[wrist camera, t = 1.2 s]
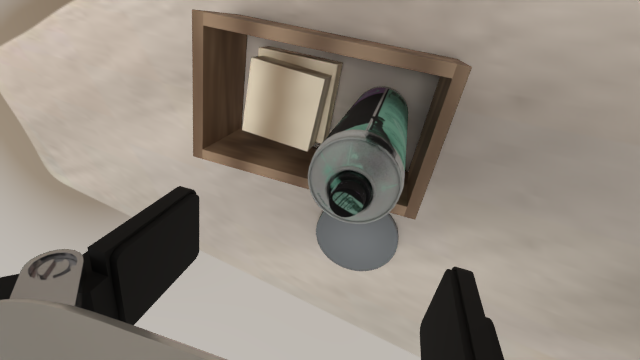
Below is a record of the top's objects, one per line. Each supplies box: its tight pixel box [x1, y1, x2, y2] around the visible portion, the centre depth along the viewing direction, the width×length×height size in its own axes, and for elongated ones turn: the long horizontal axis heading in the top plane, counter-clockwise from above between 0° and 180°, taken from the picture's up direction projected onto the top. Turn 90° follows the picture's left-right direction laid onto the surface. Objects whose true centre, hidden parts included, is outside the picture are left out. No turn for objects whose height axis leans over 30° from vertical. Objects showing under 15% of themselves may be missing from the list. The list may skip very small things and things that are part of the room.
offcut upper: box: [242, 56, 332, 152], centre depth 31 cm, size 7×7×3 cm
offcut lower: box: [258, 46, 343, 144], centre depth 34 cm, size 8×8×3 cm
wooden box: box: [192, 9, 472, 219], centre depth 30 cm, size 22×13×8 cm, turn 80°
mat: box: [316, 211, 398, 271], centre depth 39 cm, size 10×10×1 cm
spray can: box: [308, 87, 408, 224], centre depth 24 cm, size 6×6×20 cm
